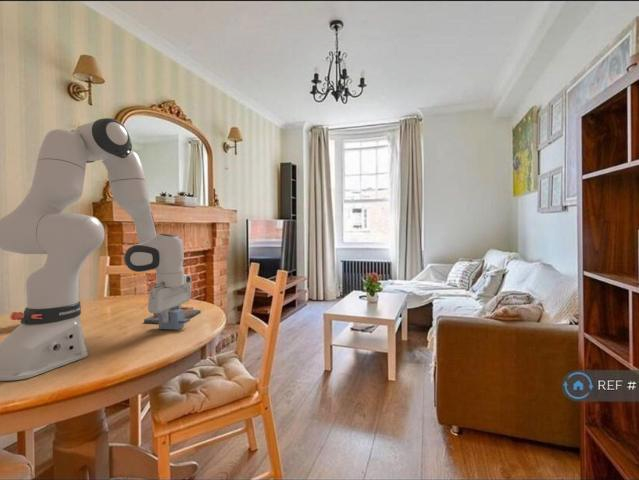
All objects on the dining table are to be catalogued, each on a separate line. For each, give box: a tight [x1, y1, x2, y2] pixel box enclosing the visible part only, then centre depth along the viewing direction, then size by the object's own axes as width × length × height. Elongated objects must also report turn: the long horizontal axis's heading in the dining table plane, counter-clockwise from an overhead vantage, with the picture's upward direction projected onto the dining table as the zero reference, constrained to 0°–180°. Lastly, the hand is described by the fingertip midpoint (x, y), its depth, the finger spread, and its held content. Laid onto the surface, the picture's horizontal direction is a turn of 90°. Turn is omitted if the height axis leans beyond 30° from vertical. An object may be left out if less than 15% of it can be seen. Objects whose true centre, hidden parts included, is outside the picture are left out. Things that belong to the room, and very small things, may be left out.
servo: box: [153, 309, 191, 331], centre depth 117 cm, size 4×12×6 cm, turn 81°
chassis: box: [143, 306, 201, 324], centre depth 131 cm, size 16×14×3 cm
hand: (171, 319), depth 117 cm, fingers closed on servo, 4 cm apart
